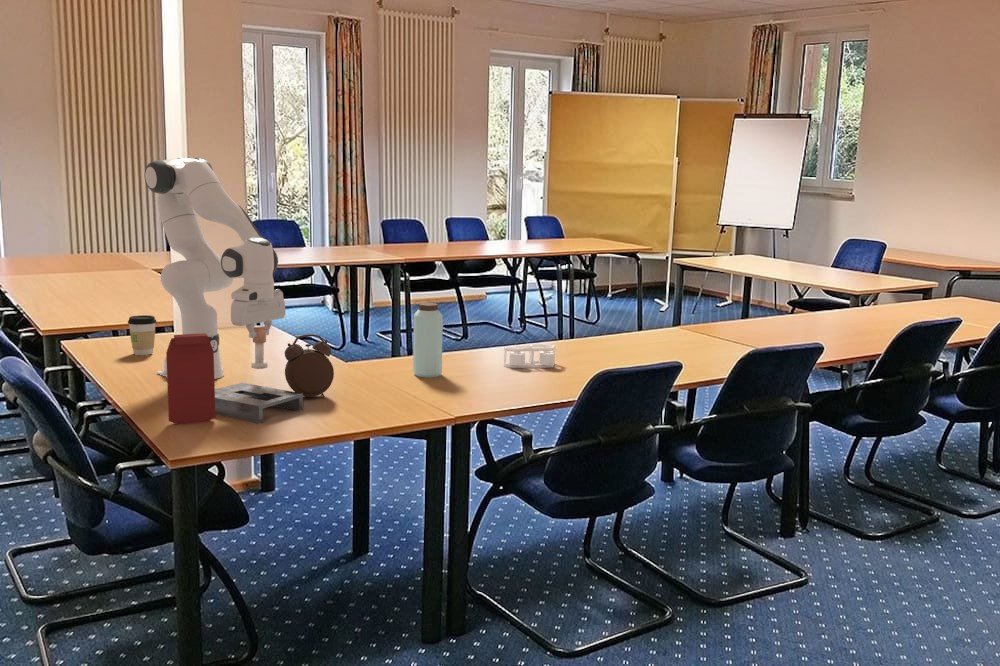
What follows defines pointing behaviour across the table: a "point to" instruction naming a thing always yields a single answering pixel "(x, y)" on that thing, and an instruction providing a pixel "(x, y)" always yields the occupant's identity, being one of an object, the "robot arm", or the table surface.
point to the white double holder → (530, 356)
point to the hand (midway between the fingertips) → (259, 336)
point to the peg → (259, 348)
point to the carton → (190, 379)
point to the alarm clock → (309, 368)
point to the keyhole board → (253, 401)
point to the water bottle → (427, 341)
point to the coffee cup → (142, 334)
